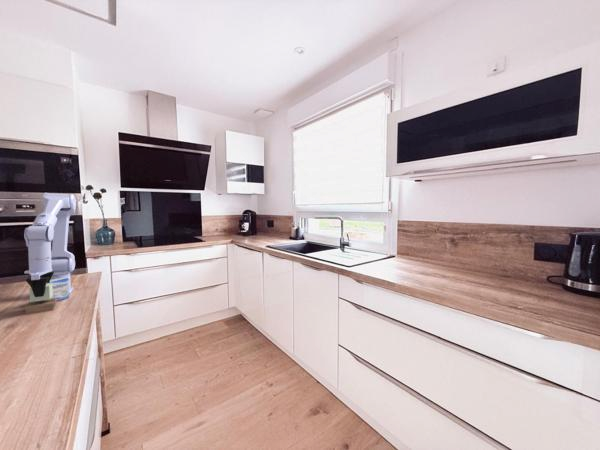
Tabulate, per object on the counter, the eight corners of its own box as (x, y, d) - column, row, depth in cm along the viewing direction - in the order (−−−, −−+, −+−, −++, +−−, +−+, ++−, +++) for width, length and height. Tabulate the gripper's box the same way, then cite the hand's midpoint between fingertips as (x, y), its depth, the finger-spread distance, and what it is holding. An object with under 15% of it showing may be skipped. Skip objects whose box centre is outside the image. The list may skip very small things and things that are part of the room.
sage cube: (34, 297, 91) (33, 284, 91) (52, 295, 94) (52, 282, 94) (30, 302, 87) (29, 288, 87) (49, 299, 90) (49, 286, 90)
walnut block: (30, 308, 91) (29, 301, 91) (56, 304, 96) (56, 297, 96) (25, 315, 86) (25, 307, 86) (53, 310, 90) (53, 302, 90)
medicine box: (46, 304, 94) (46, 283, 94) (38, 303, 95) (37, 282, 95) (69, 297, 102) (69, 277, 102) (61, 296, 103) (60, 276, 103)
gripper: (30, 255, 93) (31, 290, 94) (17, 263, 81) (18, 302, 82) (56, 254, 97) (57, 287, 98) (47, 261, 86) (48, 298, 86)
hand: (41, 294), depth 90 cm, fingers closed on sage cube, 5 cm apart
